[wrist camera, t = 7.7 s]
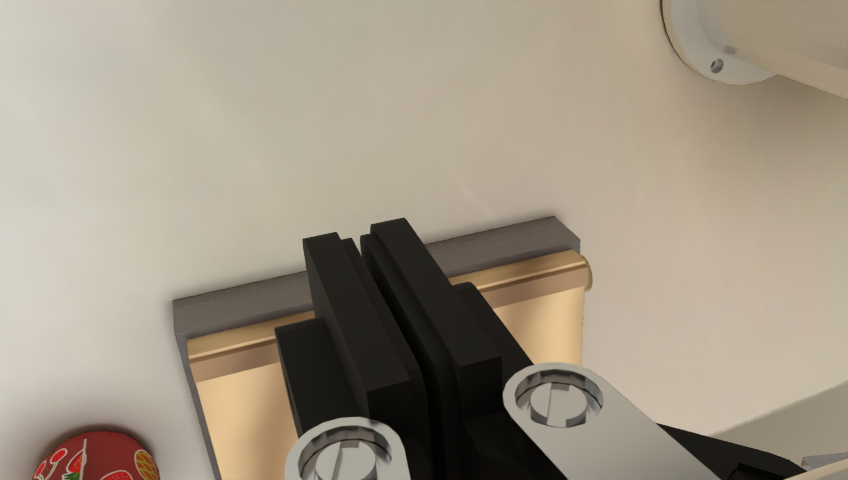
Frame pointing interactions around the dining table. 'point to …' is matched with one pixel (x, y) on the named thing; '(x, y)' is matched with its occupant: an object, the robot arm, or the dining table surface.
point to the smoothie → (98, 459)
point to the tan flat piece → (256, 344)
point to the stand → (295, 297)
